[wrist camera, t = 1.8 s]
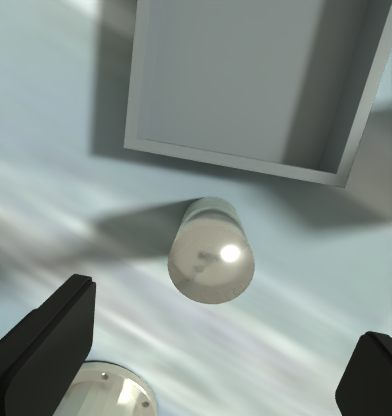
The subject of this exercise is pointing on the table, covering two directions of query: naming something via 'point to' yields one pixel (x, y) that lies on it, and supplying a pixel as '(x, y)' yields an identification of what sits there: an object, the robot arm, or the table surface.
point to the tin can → (211, 253)
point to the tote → (257, 82)
